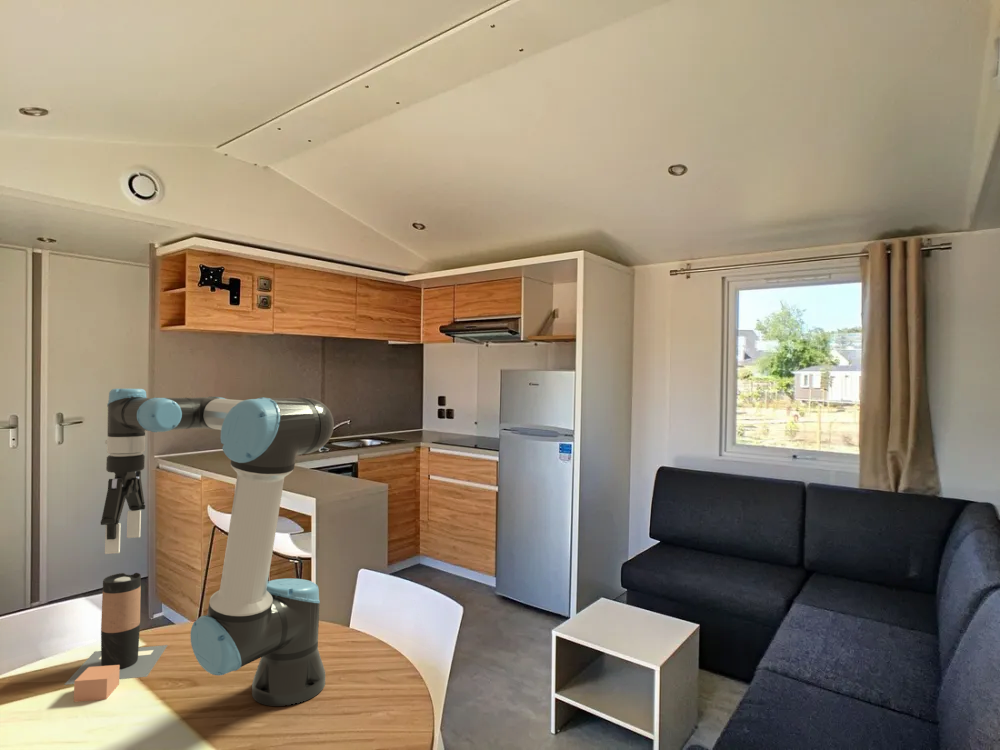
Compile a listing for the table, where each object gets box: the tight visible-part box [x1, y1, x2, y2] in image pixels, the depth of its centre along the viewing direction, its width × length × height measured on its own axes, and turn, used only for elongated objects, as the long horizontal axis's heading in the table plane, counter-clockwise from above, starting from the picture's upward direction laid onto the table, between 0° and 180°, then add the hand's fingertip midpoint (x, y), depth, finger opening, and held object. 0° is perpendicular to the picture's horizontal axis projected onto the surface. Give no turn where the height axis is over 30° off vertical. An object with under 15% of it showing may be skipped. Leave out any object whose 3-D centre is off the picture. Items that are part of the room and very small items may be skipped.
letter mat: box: [64, 644, 169, 686], centre depth 136 cm, size 16×16×1 cm
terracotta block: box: [73, 665, 120, 703], centre depth 123 cm, size 6×6×5 cm
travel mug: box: [100, 572, 142, 670], centre depth 136 cm, size 8×8×20 cm
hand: (123, 545), depth 136 cm, fingers open, 13 cm apart
